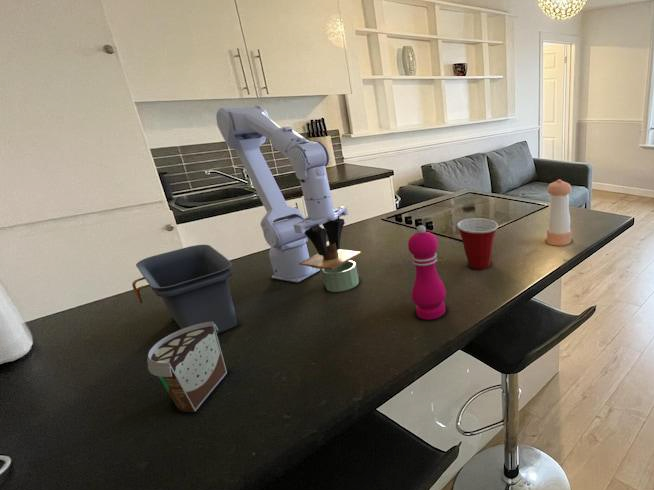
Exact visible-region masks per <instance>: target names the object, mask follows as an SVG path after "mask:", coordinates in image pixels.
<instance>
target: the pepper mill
mask: <svg viewBox="0 0 654 490" xmlns="http://www.w3.org/2000/svg"><path fill="white" fill-rule="evenodd" d="M426 230H427V229H426V227H425V225H423V224H421V225H420V224H419V225H418V226H417V227H416V232H415V233H413V234H412V235H411V236H410V237H409V239H408V243H407V247H408V251H409V253H410V254H411V255H412V257H411V258H412V264H413V265H414V266H415V280H414V283H413V286H412V289H411V299H412V302H413V303H414V304H415V311H416V316H417V317H418V318H419V319H421V320H425V321H426V320H427V321H429V320H430V321H431V320H435V319H438V318H441V317H442V316H444V314H445V313H446V311H447V309H446V303H445V299H446V297H447V291H446V290H447V289H446V287H445V284H444V282H443V281H442V279H441V277H440V276H439V274H438V273H439V272H438V271H437V267H436V266H437V265H436V264H437V263H436V262H438V257H437V256H438V254H437V250H438V248H439V241H438V239H437V237H436V235H435V234H434V233H432V232H430V231H426Z"/></svg>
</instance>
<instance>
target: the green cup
mask: <svg viewBox="0 0 654 490" xmlns="http://www.w3.org/2000/svg"><path fill="white" fill-rule="evenodd" d="M321 274H322V279H323V282H324V283H323V284H324V288H325V290H326V291H328V292H332V293H340V292H345V291H349V290H351V289H353V288H355V287H357V286H358V285H359V283H360V279H359V274H358V268H357V264H356V262H355V261H353V260H349V261H347V262H346V263H344V264H342V265H340V266H339V267H337V268H335V269H333V270H329V269H322V268H321Z"/></svg>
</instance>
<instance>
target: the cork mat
mask: <svg viewBox="0 0 654 490" xmlns="http://www.w3.org/2000/svg"><path fill="white" fill-rule="evenodd" d="M326 243H327V249H328V255H326V256H322V255H319V253H318V252H317V253H316V254H314V255H312V256H309V258H308V259H306V260H304V261H302V262H300V263H299V265H304V266H310V267H312V268H318V269H321V270H322V269H329V270H333V269H335V268H337V267H339V266H340V265H342V264H344V263H346V262H347V261H349V260H350V261H352V260H353V259H354V258H356V257H358V256H360V255H362V251H357V250H349V249H342V248H340V249H338V250H337V247H336V243H335V242H333V241H329V240H328V241H326Z"/></svg>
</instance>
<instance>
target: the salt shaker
mask: <svg viewBox="0 0 654 490" xmlns="http://www.w3.org/2000/svg"><path fill="white" fill-rule="evenodd" d="M546 190H547V193H548V194H549V211H548V217H547V229H546V243H548V245H552V246H566V245H569V244H571V242H572V230H571V216H570V215H571V214H570V209H569V206H570V205H569V204H570V203H569V201H570V199H569V198H570V197H569V196H570V194H571V192H572V190H573V189H572V185H571V184H570V183H568V182H566V181H564V180H562V179H559V178H557V179H556V181H553V182H551V183H549V184H548V186H547V188H546Z"/></svg>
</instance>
